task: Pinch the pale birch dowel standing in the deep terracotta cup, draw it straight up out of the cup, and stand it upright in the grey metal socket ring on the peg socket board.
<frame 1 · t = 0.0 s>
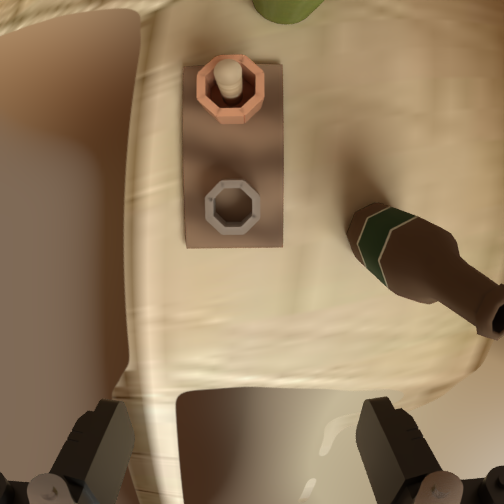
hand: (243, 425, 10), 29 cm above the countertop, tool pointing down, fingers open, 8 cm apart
birch dowel: (232, 96, 32), point 2 cm above the countertop, touching terracotta cup
beer bottle: (373, 232, 38), on the countertop
plant pot: (283, 1, 30), on the countertop
peg socket board: (233, 154, 35), on the countertop
terracotta cup: (232, 97, 33), resting on peg socket board
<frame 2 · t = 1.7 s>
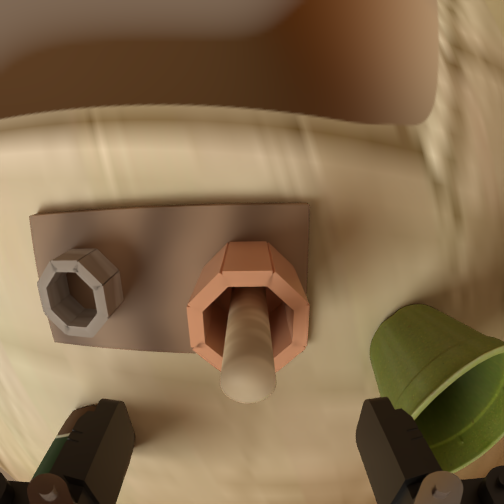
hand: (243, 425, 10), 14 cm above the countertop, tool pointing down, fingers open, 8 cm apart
birch dowel: (248, 289, 22), point 2 cm above the countertop, touching terracotta cup
beer bottle: (104, 428, 28), on the countertop
plant pot: (406, 340, 25), on the countertop
peg socket board: (159, 281, 23), on the countertop
terracotta cup: (248, 285, 22), resting on peg socket board
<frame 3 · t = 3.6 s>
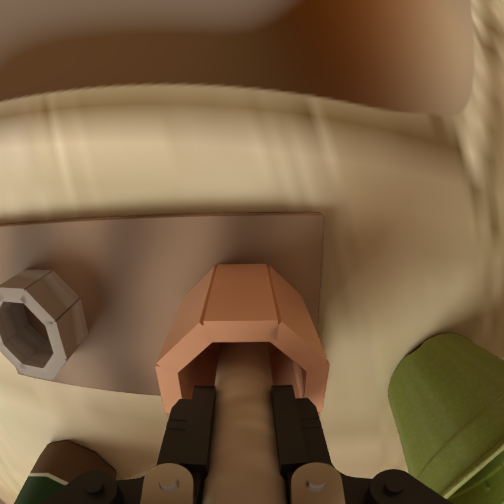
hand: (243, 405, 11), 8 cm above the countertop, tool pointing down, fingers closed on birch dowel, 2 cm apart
birch dowel: (243, 343, 15), point 3 cm above the countertop, touching gripper
beer bottle: (83, 462, 22), on the countertop
plant pot: (430, 372, 20), on the countertop
peg socket board: (131, 310, 18), on the countertop
terracotta cup: (243, 320, 17), resting on peg socket board
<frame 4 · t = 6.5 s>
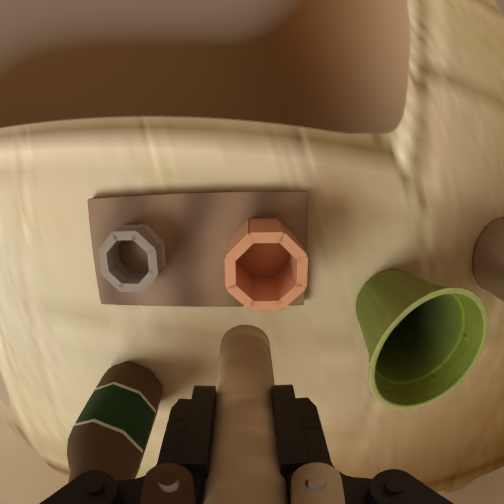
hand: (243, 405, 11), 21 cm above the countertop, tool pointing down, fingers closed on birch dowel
birch dowel: (245, 345, 14), point 17 cm above the countertop, touching gripper
beer bottle: (135, 384, 36), on the countertop
plant pot: (385, 300, 33), on the countertop
peg socket board: (194, 249, 31), on the countertop
terracotta cup: (263, 251, 30), resting on peg socket board
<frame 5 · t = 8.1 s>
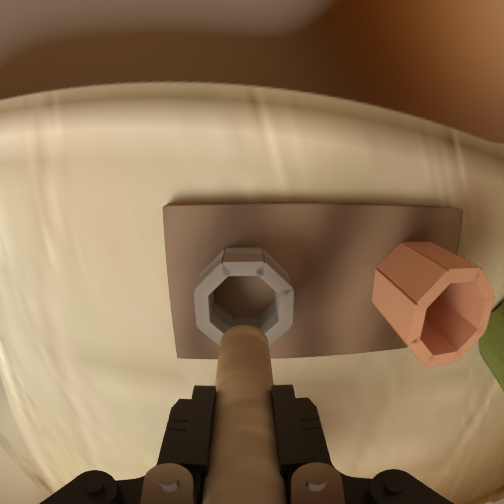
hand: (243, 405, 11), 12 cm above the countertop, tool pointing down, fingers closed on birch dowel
birch dowel: (244, 345, 14), point 8 cm above the countertop, touching gripper
plant pot: (502, 327, 24), on the countertop
peg socket board: (323, 282, 22), on the countertop
terracotta cup: (411, 283, 21), resting on peg socket board
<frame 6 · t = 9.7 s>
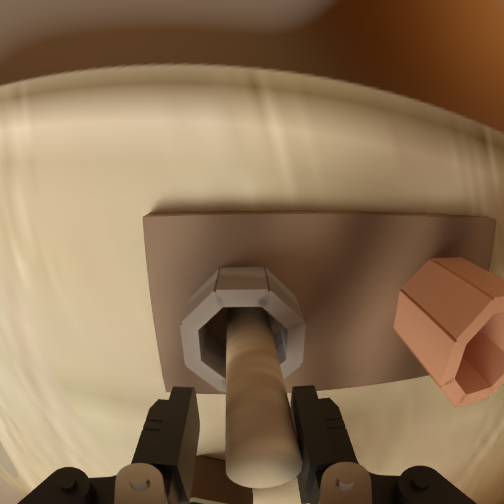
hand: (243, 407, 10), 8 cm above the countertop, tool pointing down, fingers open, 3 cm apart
birch dowel: (247, 317, 17), point 1 cm above the countertop, touching gripper
beer bottle: (207, 477, 23), on the countertop
peg socket board: (338, 305, 18), on the countertop
terracotta cup: (438, 305, 18), resting on peg socket board
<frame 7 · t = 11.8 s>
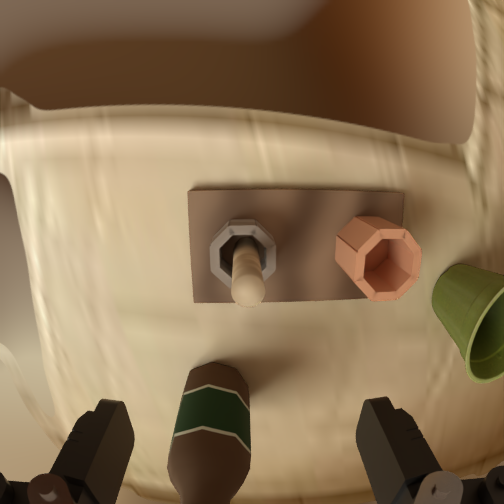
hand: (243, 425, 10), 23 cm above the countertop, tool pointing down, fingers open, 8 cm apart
birch dowel: (245, 248, 31), point 1 cm above the countertop, touching peg socket board
beer bottle: (216, 384, 36), on the countertop
plant pot: (453, 291, 34), on the countertop
peg socket board: (299, 245, 32), on the countertop
terracotta cup: (365, 247, 31), resting on peg socket board
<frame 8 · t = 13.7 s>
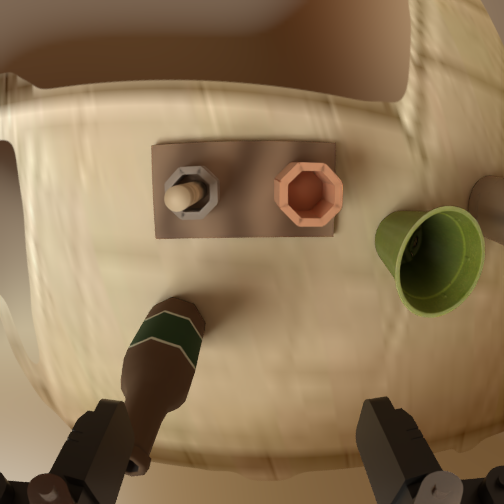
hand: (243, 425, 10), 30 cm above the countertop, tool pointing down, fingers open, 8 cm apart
birch dowel: (197, 190, 36), point 1 cm above the countertop, touching peg socket board
beer bottle: (177, 321, 42), on the countertop
plant pot: (398, 238, 39), on the countertop
peg socket board: (243, 188, 37), on the countertop
terracotta cup: (301, 189, 36), resting on peg socket board
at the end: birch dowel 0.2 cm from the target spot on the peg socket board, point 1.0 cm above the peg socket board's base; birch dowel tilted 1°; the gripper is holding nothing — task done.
